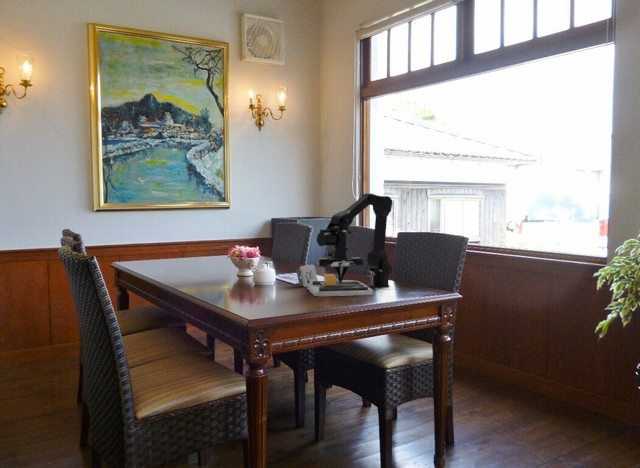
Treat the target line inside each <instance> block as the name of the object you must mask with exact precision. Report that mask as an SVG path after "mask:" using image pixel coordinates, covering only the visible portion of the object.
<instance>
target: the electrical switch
mask: <svg viewBox="0 0 640 468" xmlns="http://www.w3.org/2000/svg"><path fill="white" fill-rule="evenodd" d="M295 270H296V276H297V281H298V284H299V285H298V286H299V287H304V288H308V284H312V281H319V280H318V277H317V273H316V267H315V264H307V265H306V264H305V265H301V266H299V268H297V269H295Z"/></svg>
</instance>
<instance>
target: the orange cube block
mask: <svg viewBox="0 0 640 468" xmlns="http://www.w3.org/2000/svg"><path fill="white" fill-rule="evenodd" d="M323 276H324V277H323V278H324V279H323V281H324V284H325V285H336V281H337V274H336V273H324V274H323Z"/></svg>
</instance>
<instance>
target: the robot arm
mask: <svg viewBox="0 0 640 468" xmlns="http://www.w3.org/2000/svg"><path fill="white" fill-rule="evenodd" d="M369 206H372V210H373V213H374V215H375V223H374V233H373V235H374V236H373V246H372V247H373V248H372V250H371V251H368V252H367V258H366V259H367V260H366V262H367V266H368V267H369V271H370V273H371V272H372V275H371V286H373V287H375V288H388V287H389V288H390V285H389V274H391V273H392V270H393V267H392V266H391V265H390V264H389V262H388V255H387V252H386V249H385V248H386V247H385V245H386V244H385V243H386V236H387V235H386V234H387V223H388V222H387V221H388V216H389V215H390V213H391V212H392V208H393V199H392V197H390V196H386V195H377V194H375V193H363V194H362V196H361V197H359V199H357V200H356V201H355V202H354V203H352V204H351V205H350V206H349V207H348V208H346V209H345V210H342V211H339V212H337V213H334V215H332V216H331V217H330V219H331V220H330V221H329V223H328V225H327V227H326V228H325V229H323V228H321V229H320V230H319V232H318V234H317V235H316V243H317V245H318V246H319V247H330V246H331V247H332V249H326V257H317V259H316V265H317V266H318V267H327V266H329V265H330V267H331V268H333V270H334V271H335V275H336V279H337V281H339V282H342V281H343V279H344V277H345V275H346V272H347V270H348V269H349V268H351V265H350V264H353V265H354V264H355V266H364V259H363V258H362V257H360V256H357V257H356V256H355V257H353V256H352V257H351V258H348V234H349V235H350V234H352V231H351V230H350V229H349V227H350V226H351V224H353V222H354V221H353V220H354V219H355V217H357V216H358V215H359V214H360V213H361V212H362V211H364V210H365V209H366V208H367V207H369ZM339 265H340V266H339Z"/></svg>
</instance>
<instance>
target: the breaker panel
mask: <svg viewBox="0 0 640 468" xmlns="http://www.w3.org/2000/svg"><path fill="white" fill-rule="evenodd" d="M307 290H308V291H309V293H311V294H312V296H314V297H315V296H318V297H345V296H346V297H348V296H349V297H350V296H354V295H355V296H374V289H372V288H371V287H369V286H368V285H366V284H364V283H363V282H361V281H359V279H357V280H356V279H355V280H352V279H349V280H348V279H347V280H345V279H344V280H342V282H339V281H338V280H336V285H325V284H324V280H318V281H312V284H308V287H307Z"/></svg>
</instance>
